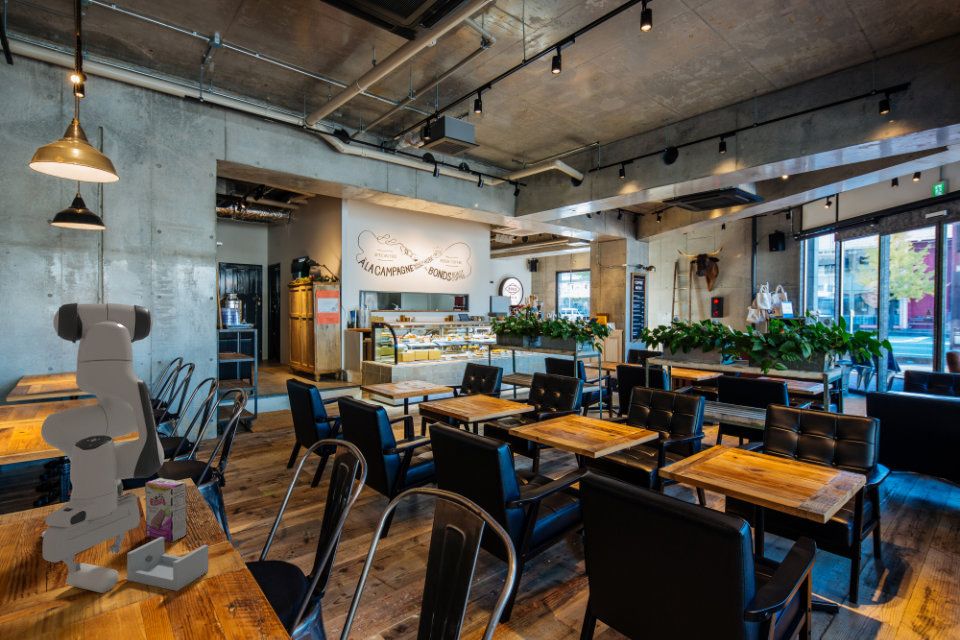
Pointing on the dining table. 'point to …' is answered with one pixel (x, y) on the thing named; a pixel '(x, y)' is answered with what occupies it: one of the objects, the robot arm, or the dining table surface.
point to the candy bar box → (166, 509)
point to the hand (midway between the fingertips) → (95, 561)
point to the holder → (165, 566)
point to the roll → (93, 578)
